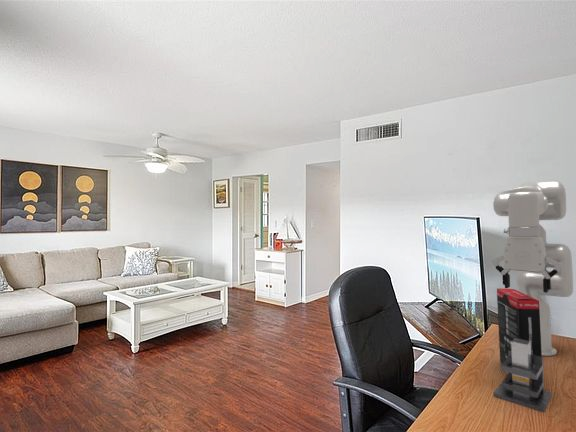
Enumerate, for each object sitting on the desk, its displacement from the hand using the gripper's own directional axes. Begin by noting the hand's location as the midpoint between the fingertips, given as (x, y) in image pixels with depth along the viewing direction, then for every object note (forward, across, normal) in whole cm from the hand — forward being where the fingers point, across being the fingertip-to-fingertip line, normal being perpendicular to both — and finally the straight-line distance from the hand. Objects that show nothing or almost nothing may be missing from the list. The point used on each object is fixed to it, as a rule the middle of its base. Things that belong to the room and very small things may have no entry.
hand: (526, 289), depth 100 cm
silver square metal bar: (+30, -1, -4) cm, 30 cm away
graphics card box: (+32, -5, +12) cm, 34 cm away
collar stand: (+31, -1, -4) cm, 31 cm away
